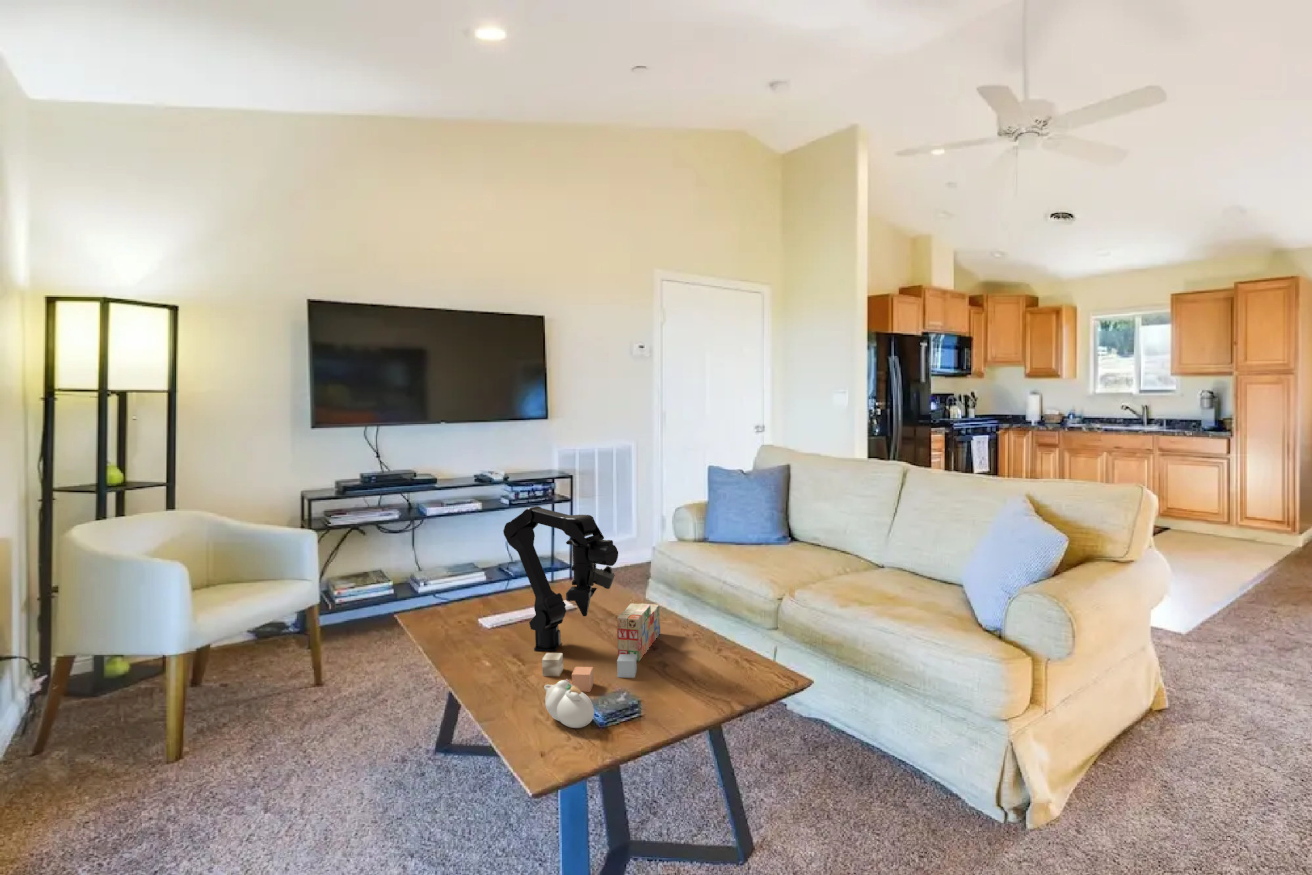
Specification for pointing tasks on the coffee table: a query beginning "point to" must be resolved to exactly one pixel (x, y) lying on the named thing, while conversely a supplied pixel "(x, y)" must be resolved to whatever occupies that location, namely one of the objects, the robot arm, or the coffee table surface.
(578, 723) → the cat figurine
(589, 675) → the terracotta block
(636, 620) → the stack of blocks
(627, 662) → the blue grey block
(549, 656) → the cream block
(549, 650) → the robot arm
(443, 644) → the coffee table surface
